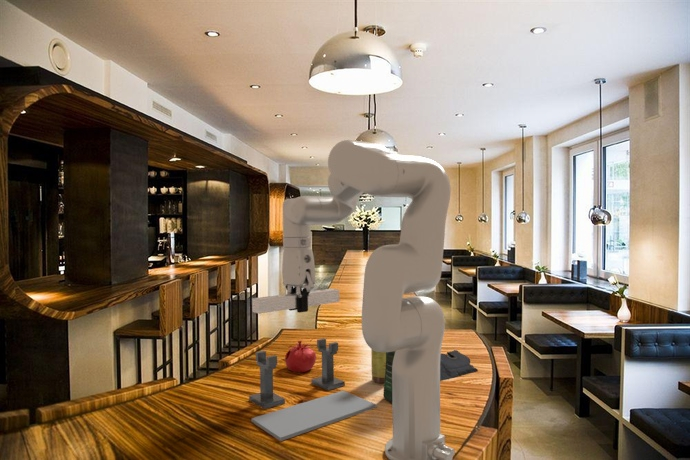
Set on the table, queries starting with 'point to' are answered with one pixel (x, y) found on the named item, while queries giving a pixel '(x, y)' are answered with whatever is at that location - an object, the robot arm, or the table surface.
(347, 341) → the table surface
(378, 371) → the sauce bottle
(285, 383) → the table surface
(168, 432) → the table surface
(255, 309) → the hang bar
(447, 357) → the dark grey notched piece
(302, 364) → the pomegranate
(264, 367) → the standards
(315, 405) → the mat
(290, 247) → the robot arm
